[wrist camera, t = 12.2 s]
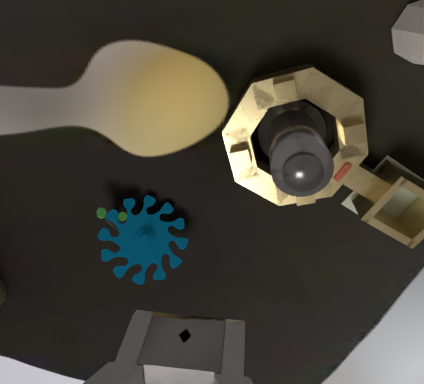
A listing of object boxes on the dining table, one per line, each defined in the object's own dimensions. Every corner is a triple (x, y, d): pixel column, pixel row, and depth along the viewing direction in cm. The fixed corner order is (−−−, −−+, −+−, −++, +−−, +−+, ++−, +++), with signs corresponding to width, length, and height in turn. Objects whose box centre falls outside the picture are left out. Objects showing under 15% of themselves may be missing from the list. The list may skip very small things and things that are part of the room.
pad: (340, 203, 40) (341, 204, 40) (387, 154, 37) (387, 155, 37) (388, 233, 41) (389, 234, 41) (437, 188, 38) (438, 189, 38)
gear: (205, 229, 42) (153, 303, 38) (194, 234, 47) (147, 299, 44) (129, 170, 41) (69, 241, 37) (127, 182, 46) (74, 245, 43)
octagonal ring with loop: (206, 153, 39) (201, 170, 35) (274, 40, 33) (276, 45, 29) (375, 248, 42) (386, 271, 38) (464, 161, 36) (488, 179, 32)
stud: (261, 98, 35) (264, 130, 27) (331, 102, 35) (356, 135, 26) (255, 161, 39) (256, 207, 30) (319, 165, 38) (338, 214, 30)
